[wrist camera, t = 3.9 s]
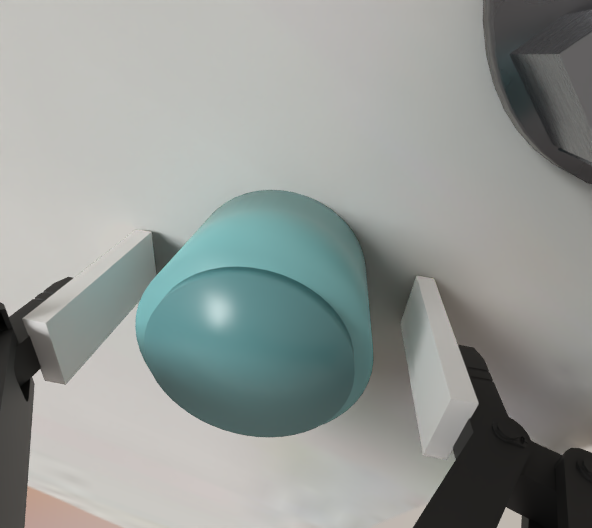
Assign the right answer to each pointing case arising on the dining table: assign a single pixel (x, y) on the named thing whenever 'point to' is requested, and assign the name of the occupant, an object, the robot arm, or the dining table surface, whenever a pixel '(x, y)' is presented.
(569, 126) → the dark grey round bowl
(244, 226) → the cap
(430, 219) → the dining table surface
